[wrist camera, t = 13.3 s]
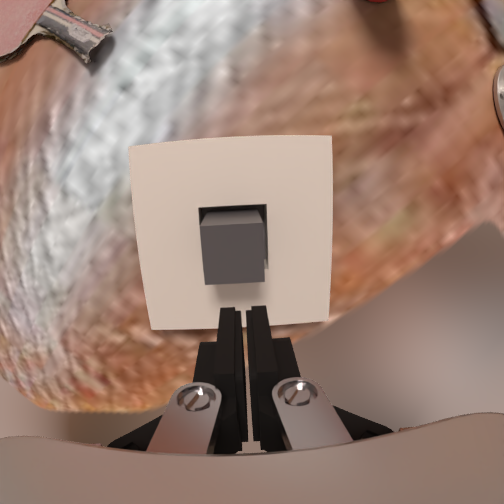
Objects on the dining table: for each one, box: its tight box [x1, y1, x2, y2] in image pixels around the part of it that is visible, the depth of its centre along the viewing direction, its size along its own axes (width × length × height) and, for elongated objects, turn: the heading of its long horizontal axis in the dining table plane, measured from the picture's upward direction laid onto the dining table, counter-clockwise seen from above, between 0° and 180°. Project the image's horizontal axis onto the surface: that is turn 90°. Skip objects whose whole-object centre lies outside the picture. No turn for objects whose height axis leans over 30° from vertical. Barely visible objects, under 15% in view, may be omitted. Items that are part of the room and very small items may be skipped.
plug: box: [200, 208, 265, 285], centre depth 28 cm, size 5×5×8 cm
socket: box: [129, 135, 333, 330], centre depth 30 cm, size 18×18×4 cm
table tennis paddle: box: [0, 0, 113, 64], centre depth 22 cm, size 18×29×3 cm, turn 33°
